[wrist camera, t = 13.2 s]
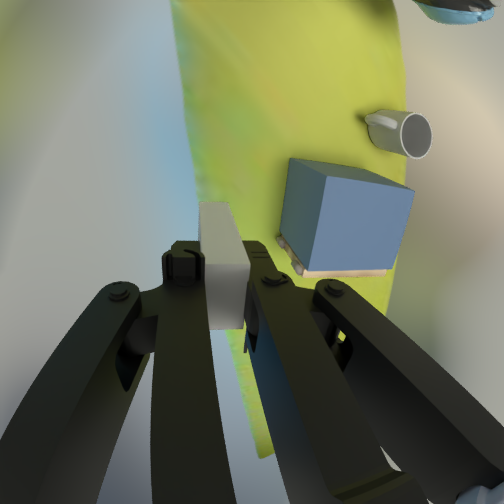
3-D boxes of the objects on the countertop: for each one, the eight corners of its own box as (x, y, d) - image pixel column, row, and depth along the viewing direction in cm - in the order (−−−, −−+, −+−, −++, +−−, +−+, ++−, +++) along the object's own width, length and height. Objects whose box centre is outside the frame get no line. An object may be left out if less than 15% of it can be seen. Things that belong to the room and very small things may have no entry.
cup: (392, 154, 43) (425, 165, 35) (348, 135, 40) (380, 142, 32) (402, 119, 40) (436, 124, 32) (359, 96, 37) (392, 96, 29)
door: (276, 234, 44) (298, 269, 35) (353, 238, 48) (387, 269, 38) (274, 241, 45) (296, 277, 35) (351, 244, 48) (384, 276, 39)
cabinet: (289, 157, 40) (326, 175, 29) (365, 169, 43) (415, 191, 32) (279, 230, 45) (307, 271, 34) (351, 233, 48) (391, 269, 37)
